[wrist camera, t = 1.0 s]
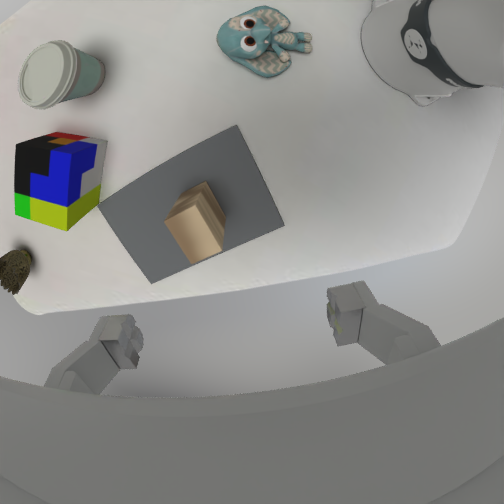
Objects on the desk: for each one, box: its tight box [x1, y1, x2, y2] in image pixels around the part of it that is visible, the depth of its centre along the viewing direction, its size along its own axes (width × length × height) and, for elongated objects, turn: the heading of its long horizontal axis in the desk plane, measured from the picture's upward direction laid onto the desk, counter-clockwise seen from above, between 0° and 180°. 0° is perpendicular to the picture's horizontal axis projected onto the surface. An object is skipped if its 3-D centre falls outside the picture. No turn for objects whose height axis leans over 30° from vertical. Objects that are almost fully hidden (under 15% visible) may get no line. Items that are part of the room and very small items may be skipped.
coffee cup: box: [18, 40, 105, 109], centre depth 23 cm, size 8×9×12 cm
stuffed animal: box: [216, 6, 312, 78], centre depth 25 cm, size 11×7×12 cm
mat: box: [98, 125, 284, 284], centre depth 39 cm, size 24×16×1 cm, turn 115°
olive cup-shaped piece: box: [0, 250, 32, 295], centre depth 38 cm, size 8×7×8 cm
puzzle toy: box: [14, 132, 108, 231], centre depth 30 cm, size 10×10×10 cm
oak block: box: [164, 181, 226, 264], centre depth 34 cm, size 4×6×10 cm, turn 25°
